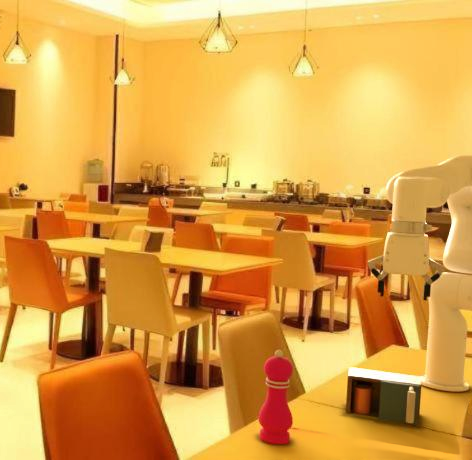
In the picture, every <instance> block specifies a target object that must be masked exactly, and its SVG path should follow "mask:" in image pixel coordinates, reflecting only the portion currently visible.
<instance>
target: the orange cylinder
mask: <svg viewBox="0 0 472 460" xmlns="http://www.w3.org/2000/svg"><path fill="white" fill-rule="evenodd" d="M371 399H372V387H370V386H367V385H355V386H354V401H353V411H355V412H358V413H363V414H368V413H370V412H371Z"/></svg>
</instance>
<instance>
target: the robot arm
mask: <svg viewBox="0 0 472 460" xmlns="http://www.w3.org/2000/svg"><path fill="white" fill-rule="evenodd" d="M385 196H386V199H387V201H388V202H389V203H390V204H392V208H391V209H392V210H391V226H390V232H387V234H386V237H385V242H384V248H383V249H384V250H383V255H380V256H377V257H374V258H371V259H370V260H367V263H366V264H367V266H368V268H369V270H370V273H371V274H372V275H373V276H374V277H375V278H376V279H377V294H378V293H380V294H379V296H380V297H381V298H383V297H384V295H385V281H386V280H385V277H386V276H387V275H388V274H391V275H401V276H415V277H421V278H422V279H423V280H424V283H423V296H422V299H423V300H422V301H425V302H426V301H427V302H428V308H429V309H428V310H429V311H428V315H429V317H428V329H427V330H428V331H427V344H426V355H425V356H426V358H425V359H426V360H425V373H424V375H420V376H421V385H422V386H424V387H426V388H430V389H433V390H438V391H444V392H453V393H454V392H456V393H457V392H458V393H459V392H460V393H461V392H467V391H469V390H470V384H469V382H467V381H465V380H464V378H465V365H466V352H467V351H466V350H467V337H468V323H467V320H466V317H465V316H464V314H463V313H462V311H461V310H464V311H471V312H472V155H471V154H469V155H468V154H465V155H463V154H462V155H460V154H459V155H455V156H452V157H450V158H448V159H445V160H444V161H442V162H440V163H439V164H435V165H428V166H424V167H420V168H414V169H409V170H405V171H401V172H399V173H397V174H395V175H394V176H392V177H391V178H390V180H389V181H388V182H387V185H386V188H385ZM446 203H447V207H448V210H449V214H450V218H451V226H450V229H449V234H448V236H447V240H446V242H445V243H446V244H445V247H444V251H443V255H442V264H441V263H439V262H437V261H435V260H433V259H432V258H430V240H429V235H428V234H425V233H426V232H428V231H432V230H433V225H432V224H428V223H427V221H426V220H427V209H428V208H430V209H436V208H440V207H443V206H445V204H446ZM379 263H382V270H381V272H380V271H378V270H377V268H376V266H375V265H376V264H379ZM429 266H431V267H433V268H435V269H436V271H435V272H434V273H433V274H432V275H431V276H429V274H428V272H429ZM446 269H447V270H449V271H451V272H445V270H446Z"/></svg>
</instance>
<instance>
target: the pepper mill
mask: <svg viewBox="0 0 472 460" xmlns="http://www.w3.org/2000/svg"><path fill="white" fill-rule="evenodd" d="M263 371H264V374H265V375H266V376H267V377H266V378H265V385H266V386H267V393H266V398H265V401H264V403H263V405H262V406H261V408H260V410H259V412H258V420H257V421H258V423H259V425H260V426H261V428H260V430H259V438H260V440H261V441H263V442H264V443H268V444H272V445H285V444H288V443H289V442H290V439H291V438H290V436H291V433H290V432H289V430H290V429H291V428H292V427H293V424H294V422H293V414H292V411H291V408H290V406H289V403H288V400H287V393H288V389H289V388H290V379H289V378H290V377H291V376H292V375H293V373H294V368H293V363H292V362H291V360H289V359H288V358H286V357H284V352H283V350H281V349H277V350H276V351H275V352H274V356H270V357H269V358H268V359H267V360H266V361H265V363H264V366H263Z"/></svg>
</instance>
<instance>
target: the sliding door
mask: <svg viewBox="0 0 472 460" xmlns="http://www.w3.org/2000/svg"><path fill="white" fill-rule="evenodd" d="M419 389H420V385H413V384H405V383H398V382H390V381H382V380H381V390H380V405H379V417H378V420H381V421H382V420H383V421H389V422H394V423H395V422H396V423H402V424H407V425H408V424H409V425H413V426H414V425H415V426H417V425H418V423H417V417H418V403H419Z"/></svg>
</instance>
